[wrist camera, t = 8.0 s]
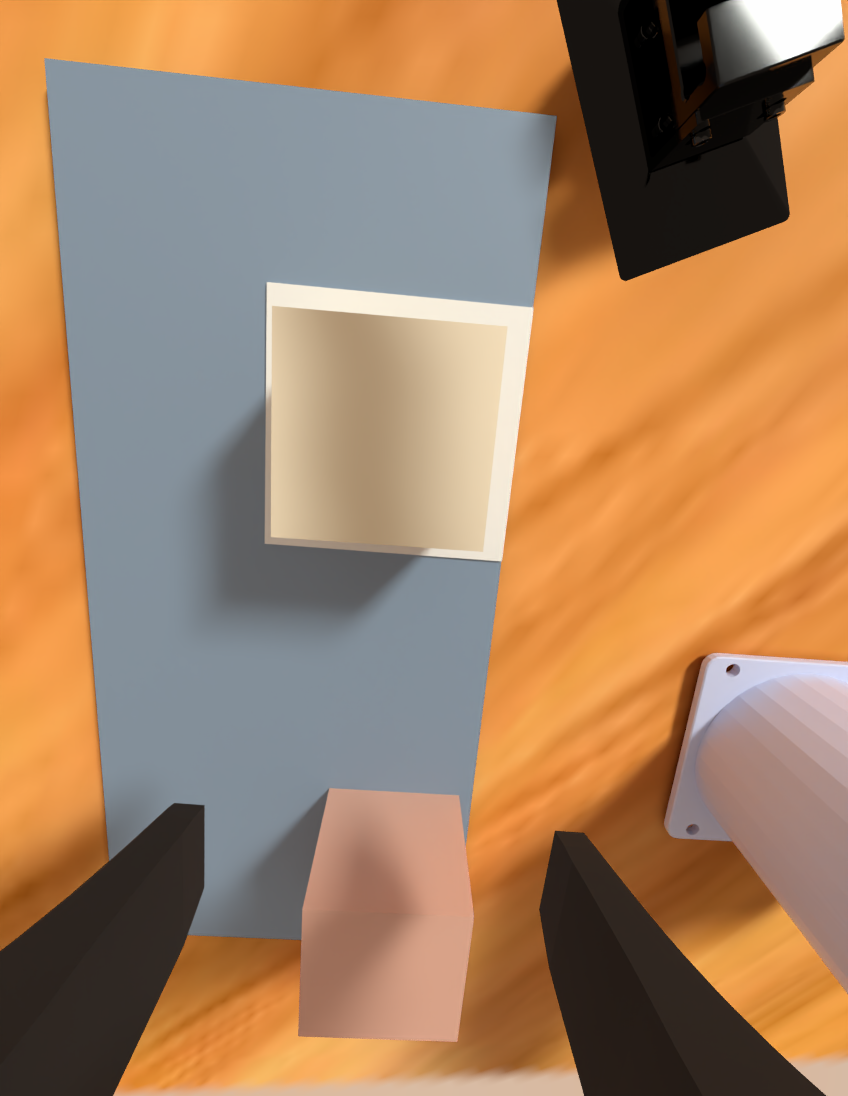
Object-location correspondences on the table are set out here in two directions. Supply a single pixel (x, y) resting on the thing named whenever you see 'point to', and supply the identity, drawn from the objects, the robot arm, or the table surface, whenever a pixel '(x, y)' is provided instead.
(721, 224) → the build plate
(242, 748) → the board
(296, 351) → the maple cube
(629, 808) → the table surface
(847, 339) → the table surface
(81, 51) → the table surface
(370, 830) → the terracotta cube
